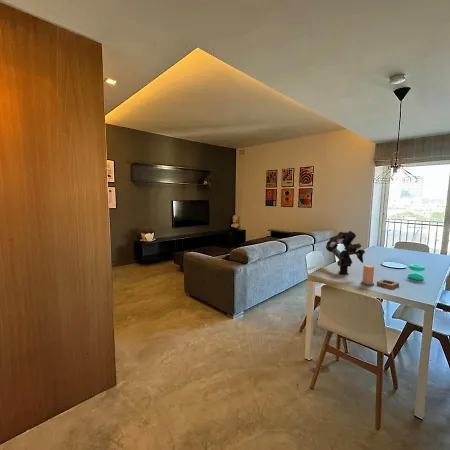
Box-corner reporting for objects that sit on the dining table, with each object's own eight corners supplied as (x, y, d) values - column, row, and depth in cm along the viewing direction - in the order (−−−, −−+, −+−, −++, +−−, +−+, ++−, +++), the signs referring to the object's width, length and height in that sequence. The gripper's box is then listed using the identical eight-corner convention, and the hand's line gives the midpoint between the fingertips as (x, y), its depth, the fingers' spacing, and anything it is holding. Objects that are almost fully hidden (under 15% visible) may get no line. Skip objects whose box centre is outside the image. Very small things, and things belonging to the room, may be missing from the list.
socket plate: (376, 284, 182) (377, 281, 182) (383, 282, 188) (384, 278, 188) (392, 289, 174) (392, 285, 174) (399, 286, 180) (399, 282, 179)
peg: (362, 281, 185) (363, 265, 184) (367, 281, 186) (369, 265, 185) (367, 284, 181) (368, 267, 180) (372, 283, 182) (374, 267, 181)
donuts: (424, 268, 189) (408, 265, 195) (423, 281, 190) (406, 278, 197) (425, 265, 197) (409, 263, 203) (424, 278, 198) (408, 275, 204)
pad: (359, 281, 189) (359, 280, 189) (372, 282, 187) (372, 281, 187) (362, 285, 181) (362, 284, 181) (375, 286, 179) (375, 285, 179)
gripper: (343, 239, 194) (352, 257, 184) (364, 239, 198) (374, 256, 188) (335, 248, 202) (344, 265, 193) (356, 247, 206) (365, 264, 197)
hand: (357, 262), depth 193 cm, fingers open, 9 cm apart
